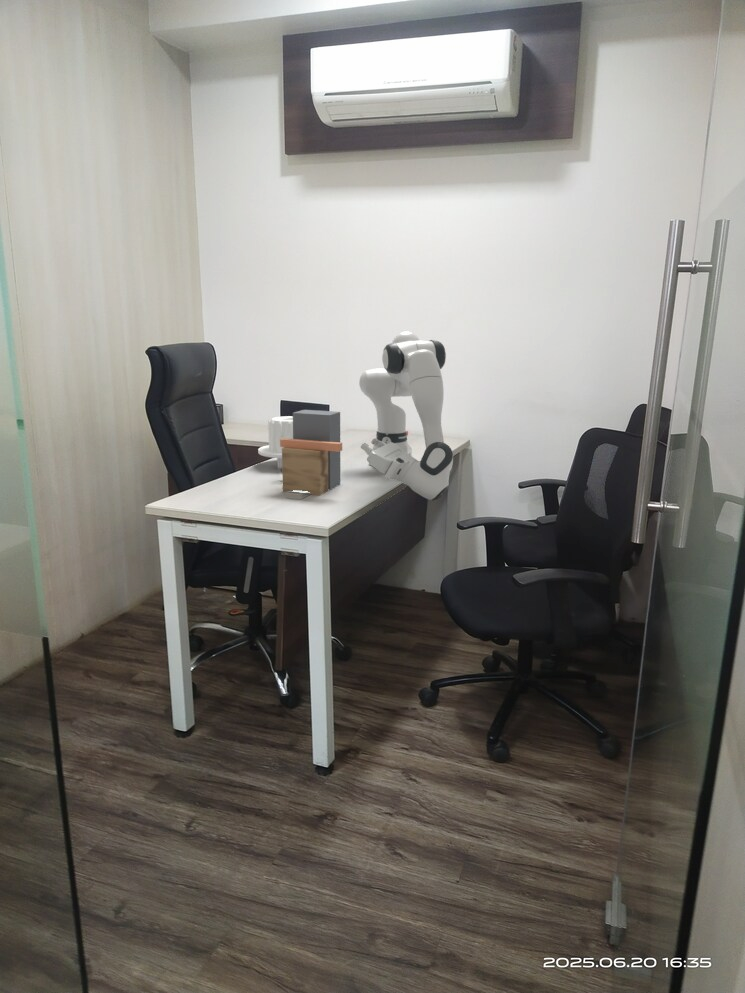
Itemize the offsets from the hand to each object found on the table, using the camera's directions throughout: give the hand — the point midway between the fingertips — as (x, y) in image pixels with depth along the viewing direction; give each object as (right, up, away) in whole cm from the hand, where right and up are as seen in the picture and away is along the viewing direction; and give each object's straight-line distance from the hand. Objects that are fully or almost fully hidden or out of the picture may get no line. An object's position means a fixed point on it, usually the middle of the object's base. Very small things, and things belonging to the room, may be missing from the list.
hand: (367, 442), depth 231 cm
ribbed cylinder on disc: (-31, -5, +53) cm, 61 cm away
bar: (-19, -1, +8) cm, 21 cm away
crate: (-21, -16, +13) cm, 29 cm away
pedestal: (-18, -14, +21) cm, 31 cm away
